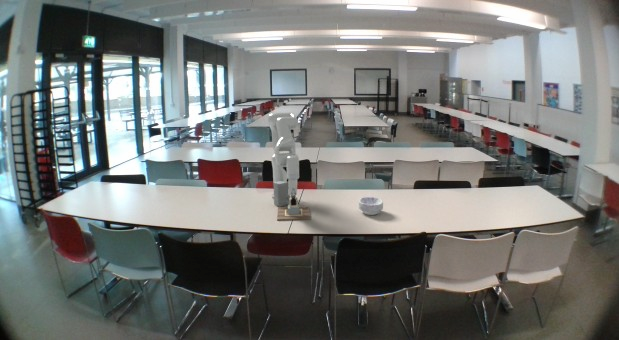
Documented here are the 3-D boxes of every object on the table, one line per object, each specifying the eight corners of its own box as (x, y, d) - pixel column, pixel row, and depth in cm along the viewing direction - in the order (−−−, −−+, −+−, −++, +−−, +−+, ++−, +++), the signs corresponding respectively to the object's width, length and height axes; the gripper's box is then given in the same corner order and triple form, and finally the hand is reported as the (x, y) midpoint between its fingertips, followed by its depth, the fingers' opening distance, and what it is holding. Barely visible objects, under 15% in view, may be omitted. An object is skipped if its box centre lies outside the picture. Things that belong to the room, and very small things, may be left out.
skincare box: (278, 207, 232) (278, 184, 228) (273, 204, 237) (272, 181, 233) (289, 204, 236) (289, 182, 232) (283, 201, 242) (283, 179, 238)
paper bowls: (364, 218, 212) (364, 205, 210) (354, 209, 227) (354, 198, 225) (387, 215, 216) (387, 203, 214) (376, 207, 231) (376, 195, 229)
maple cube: (289, 205, 221) (289, 197, 220) (297, 204, 221) (297, 197, 220) (289, 207, 216) (289, 200, 215) (297, 207, 216) (297, 200, 215)
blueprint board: (278, 208, 229) (277, 201, 228) (308, 207, 230) (308, 200, 229) (277, 220, 210) (276, 212, 208) (310, 219, 211) (310, 211, 209)
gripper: (286, 172, 222) (287, 198, 226) (286, 179, 205) (287, 208, 209) (298, 172, 222) (299, 198, 227) (299, 179, 205) (299, 207, 210)
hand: (293, 202), depth 218 cm, fingers open, 7 cm apart
